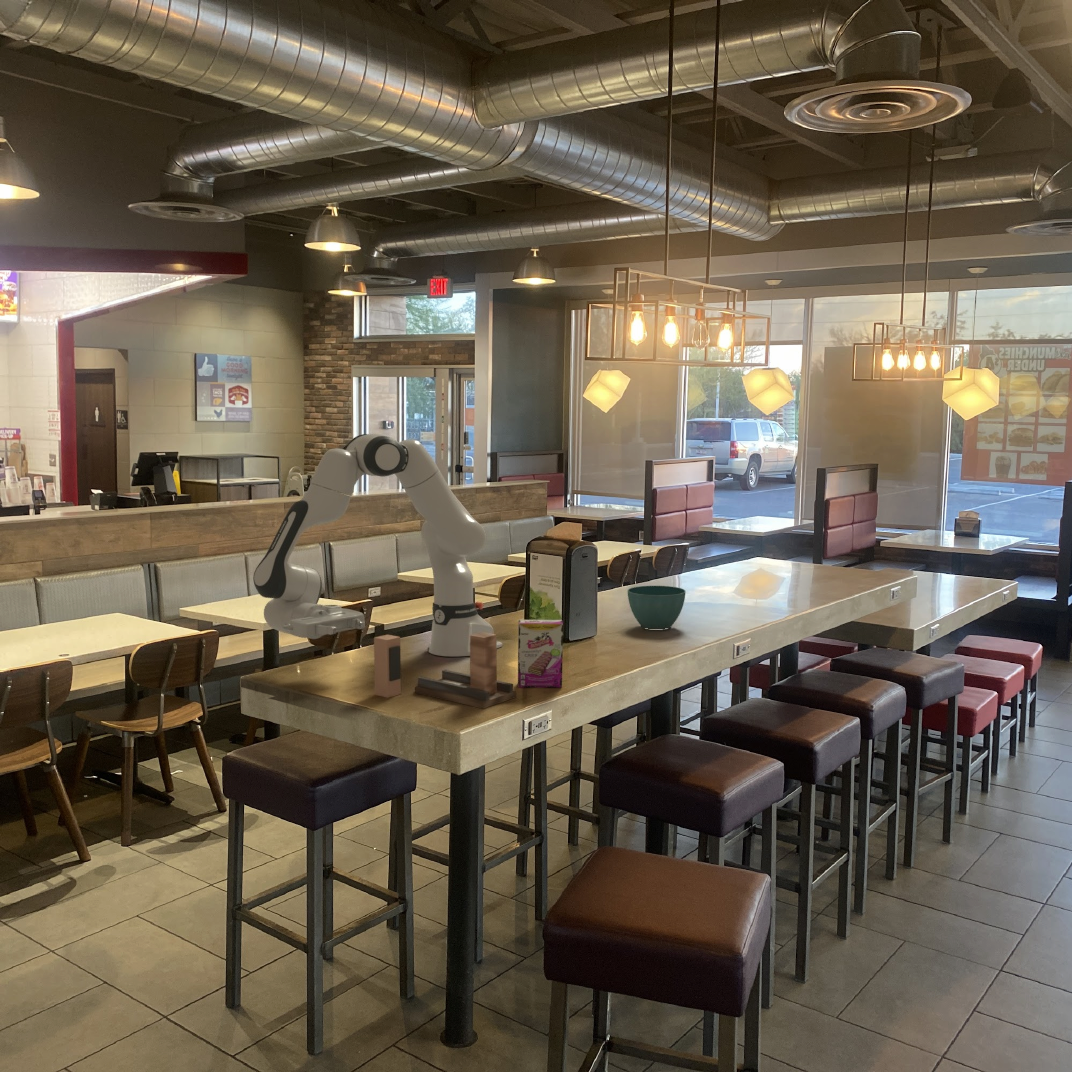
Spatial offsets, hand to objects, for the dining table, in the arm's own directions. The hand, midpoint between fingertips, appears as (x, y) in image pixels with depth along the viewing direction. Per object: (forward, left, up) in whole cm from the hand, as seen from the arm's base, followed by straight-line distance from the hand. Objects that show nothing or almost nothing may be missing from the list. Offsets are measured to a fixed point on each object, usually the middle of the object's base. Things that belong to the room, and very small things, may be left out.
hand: (348, 628), depth 251 cm
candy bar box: (-29, +37, -15) cm, 50 cm away
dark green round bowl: (-107, +23, -15) cm, 111 cm away
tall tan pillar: (0, +13, -14) cm, 20 cm away
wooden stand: (-11, +28, -14) cm, 34 cm away
